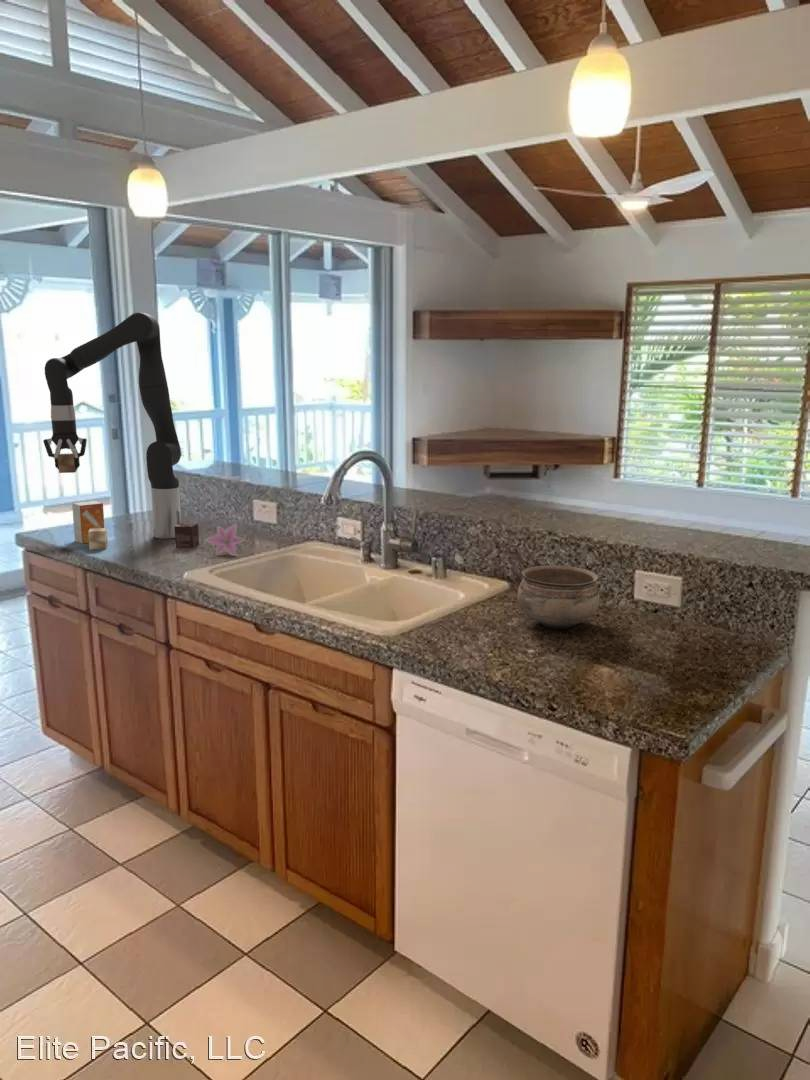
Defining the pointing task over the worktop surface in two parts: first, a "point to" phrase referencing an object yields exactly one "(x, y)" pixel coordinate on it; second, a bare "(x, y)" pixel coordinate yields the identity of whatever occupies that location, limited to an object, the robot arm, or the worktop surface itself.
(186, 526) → the box
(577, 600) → the cooking pot
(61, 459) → the walnut block
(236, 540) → the lily
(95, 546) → the maple block
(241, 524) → the worktop surface
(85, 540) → the small box
